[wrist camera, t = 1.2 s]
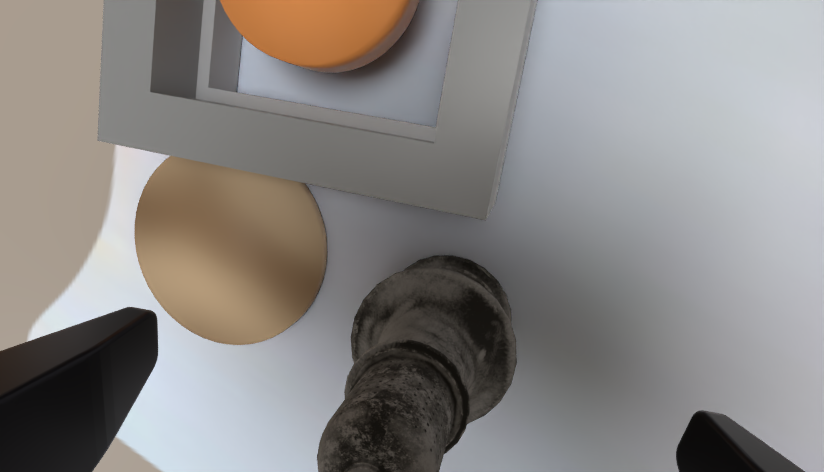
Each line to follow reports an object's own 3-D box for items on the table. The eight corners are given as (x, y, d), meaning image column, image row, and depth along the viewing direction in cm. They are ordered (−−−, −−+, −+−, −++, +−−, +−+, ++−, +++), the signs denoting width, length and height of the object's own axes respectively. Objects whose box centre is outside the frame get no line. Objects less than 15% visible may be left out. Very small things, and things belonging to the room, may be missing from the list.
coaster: (312, 361, 23) (306, 367, 23) (138, 313, 25) (128, 317, 24) (340, 161, 21) (335, 161, 21) (150, 124, 23) (140, 123, 22)
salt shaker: (361, 351, 23) (184, 565, 11) (403, 226, 21) (253, 322, 10) (488, 406, 22) (441, 701, 10) (541, 280, 20) (556, 456, 9)
